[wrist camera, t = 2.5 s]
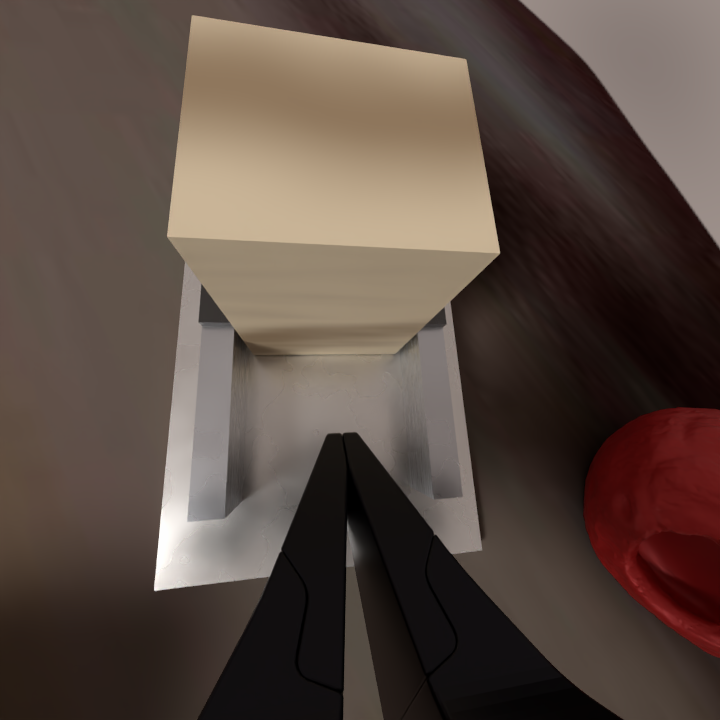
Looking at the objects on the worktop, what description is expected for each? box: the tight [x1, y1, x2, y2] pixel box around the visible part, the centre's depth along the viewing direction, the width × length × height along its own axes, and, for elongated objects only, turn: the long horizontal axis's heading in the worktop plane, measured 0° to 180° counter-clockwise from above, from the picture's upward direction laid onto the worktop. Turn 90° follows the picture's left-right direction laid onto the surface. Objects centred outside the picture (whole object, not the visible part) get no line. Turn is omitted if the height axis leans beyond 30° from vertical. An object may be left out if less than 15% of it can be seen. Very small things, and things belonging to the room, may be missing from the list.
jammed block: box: [167, 15, 500, 355], centre depth 11 cm, size 6×7×9 cm
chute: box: [154, 262, 482, 591], centre depth 15 cm, size 26×14×4 cm, turn 3°
